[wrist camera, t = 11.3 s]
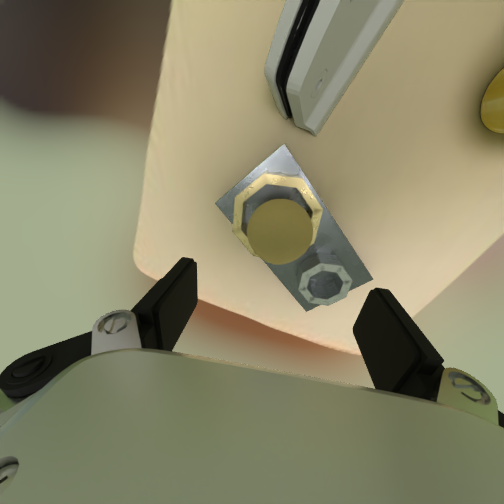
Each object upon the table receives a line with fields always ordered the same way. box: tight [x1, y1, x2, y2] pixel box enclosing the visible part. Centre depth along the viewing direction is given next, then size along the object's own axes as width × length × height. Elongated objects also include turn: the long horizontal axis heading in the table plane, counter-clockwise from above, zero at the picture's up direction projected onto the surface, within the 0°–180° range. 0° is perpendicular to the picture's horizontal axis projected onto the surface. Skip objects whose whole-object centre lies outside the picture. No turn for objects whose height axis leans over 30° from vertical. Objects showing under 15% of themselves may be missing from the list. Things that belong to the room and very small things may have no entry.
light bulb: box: [247, 199, 313, 265], centre depth 22 cm, size 6×6×10 cm
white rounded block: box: [265, 0, 404, 136], centre depth 16 cm, size 17×5×10 cm, turn 149°
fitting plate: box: [215, 144, 373, 312], centre depth 27 cm, size 11×22×4 cm, turn 39°
